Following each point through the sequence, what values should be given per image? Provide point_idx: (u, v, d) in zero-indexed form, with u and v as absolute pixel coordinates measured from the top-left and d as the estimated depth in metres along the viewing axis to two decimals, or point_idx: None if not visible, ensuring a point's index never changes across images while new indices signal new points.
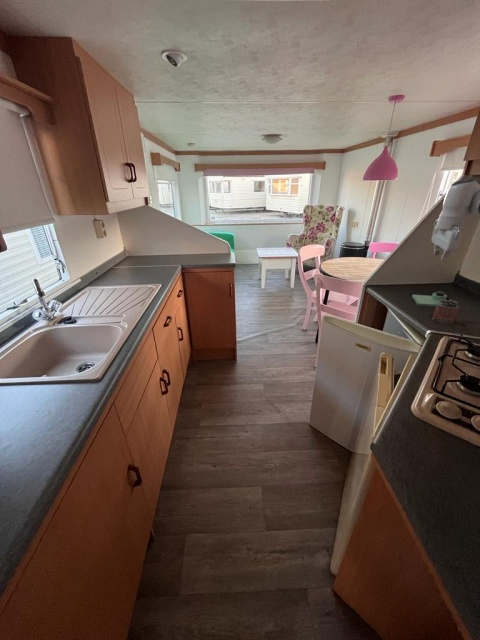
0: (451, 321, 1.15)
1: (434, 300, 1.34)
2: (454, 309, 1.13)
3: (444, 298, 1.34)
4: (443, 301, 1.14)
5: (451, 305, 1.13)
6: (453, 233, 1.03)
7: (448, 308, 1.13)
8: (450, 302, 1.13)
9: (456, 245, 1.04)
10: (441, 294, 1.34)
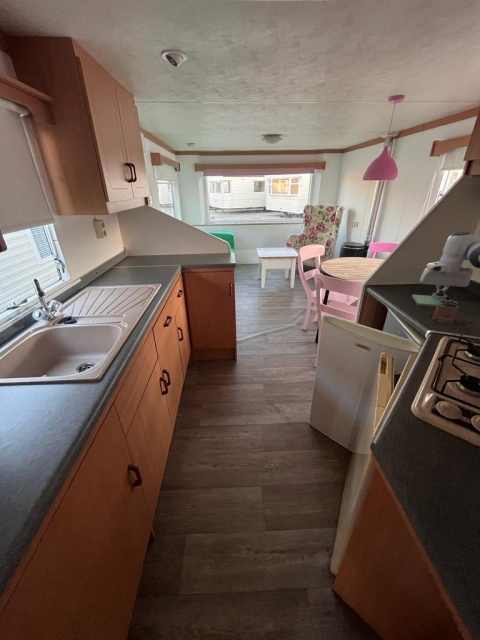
0: (451, 321, 1.15)
1: (434, 300, 1.34)
2: (454, 309, 1.13)
3: (444, 298, 1.34)
4: (443, 301, 1.14)
5: (451, 305, 1.13)
6: (469, 273, 1.27)
7: (448, 308, 1.13)
8: (450, 302, 1.13)
9: None
10: (441, 295, 1.35)
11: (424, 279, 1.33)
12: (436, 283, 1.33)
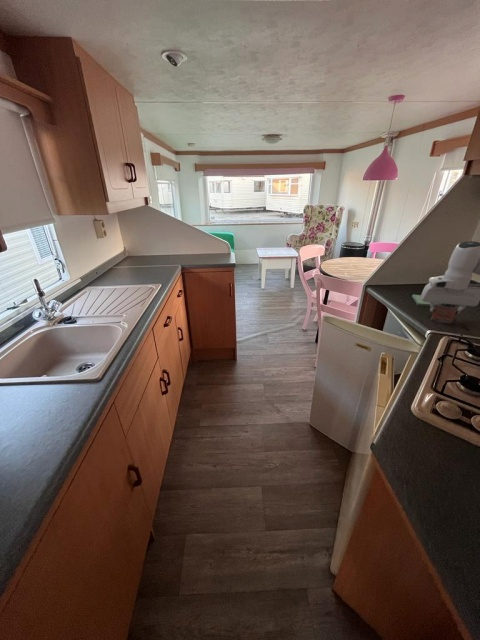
0: (450, 321, 1.15)
1: None
2: (453, 309, 1.13)
3: None
4: None
5: (450, 305, 1.13)
6: None
7: (447, 308, 1.13)
8: None
9: None
10: None
11: (426, 296, 1.13)
12: (440, 301, 1.13)
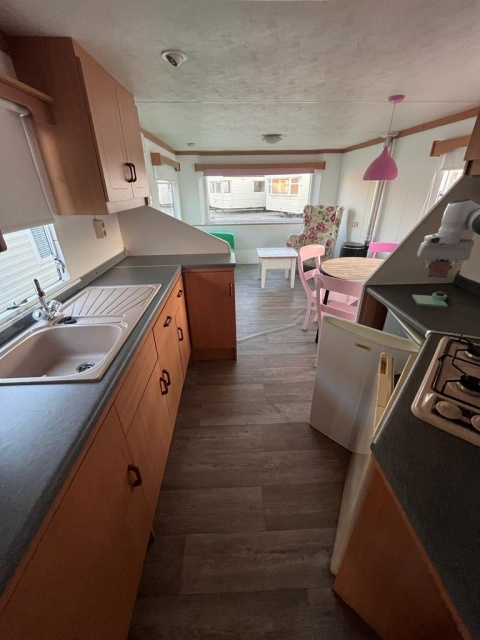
0: (444, 276, 1.25)
1: (434, 300, 1.34)
2: (447, 264, 1.23)
3: (444, 298, 1.34)
4: None
5: (444, 260, 1.23)
6: (470, 244, 1.17)
7: (441, 263, 1.23)
8: None
9: None
10: (441, 294, 1.34)
11: (421, 253, 1.23)
12: (434, 257, 1.23)
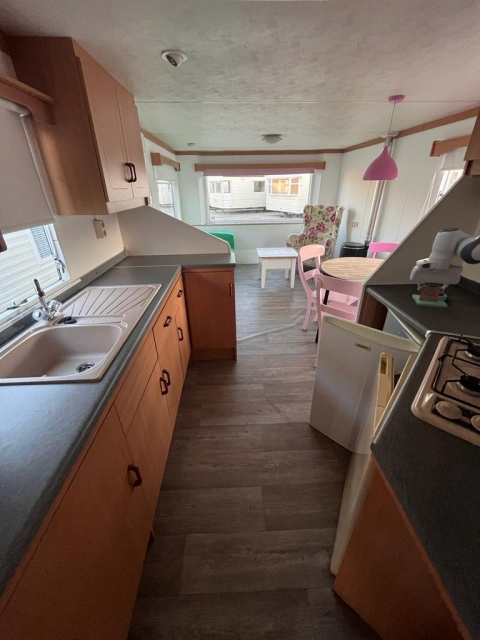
0: (435, 299, 1.32)
1: None
2: (437, 289, 1.30)
3: (444, 298, 1.34)
4: None
5: (434, 285, 1.30)
6: (459, 270, 1.24)
7: (432, 288, 1.31)
8: (433, 283, 1.30)
9: None
10: (441, 294, 1.34)
11: (413, 277, 1.30)
12: (426, 281, 1.30)
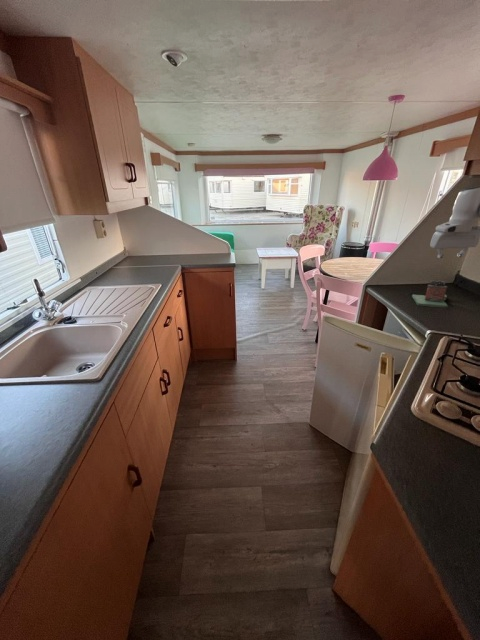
0: (441, 299, 1.32)
1: None
2: (443, 288, 1.30)
3: (444, 298, 1.34)
4: (433, 281, 1.31)
5: (440, 285, 1.30)
6: None
7: (437, 287, 1.30)
8: (439, 282, 1.30)
9: None
10: None
11: (437, 243, 1.20)
12: (448, 246, 1.21)
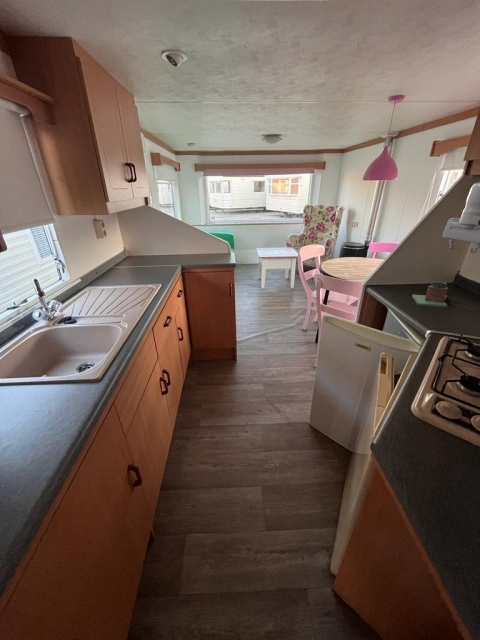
0: (441, 300, 1.32)
1: None
2: (443, 290, 1.29)
3: (444, 298, 1.34)
4: (434, 283, 1.30)
5: (441, 286, 1.29)
6: None
7: (438, 289, 1.30)
8: (440, 283, 1.29)
9: None
10: None
11: None
12: None
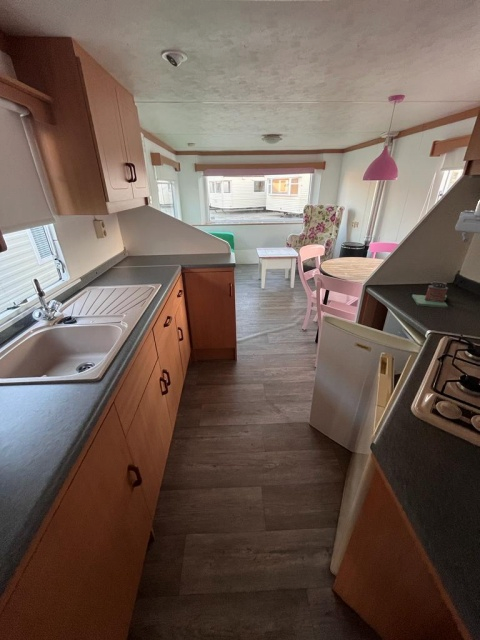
0: (441, 300, 1.32)
1: None
2: (443, 290, 1.29)
3: (444, 298, 1.34)
4: (434, 283, 1.30)
5: (441, 286, 1.29)
6: None
7: (438, 289, 1.30)
8: (440, 283, 1.29)
9: None
10: None
11: None
12: None
